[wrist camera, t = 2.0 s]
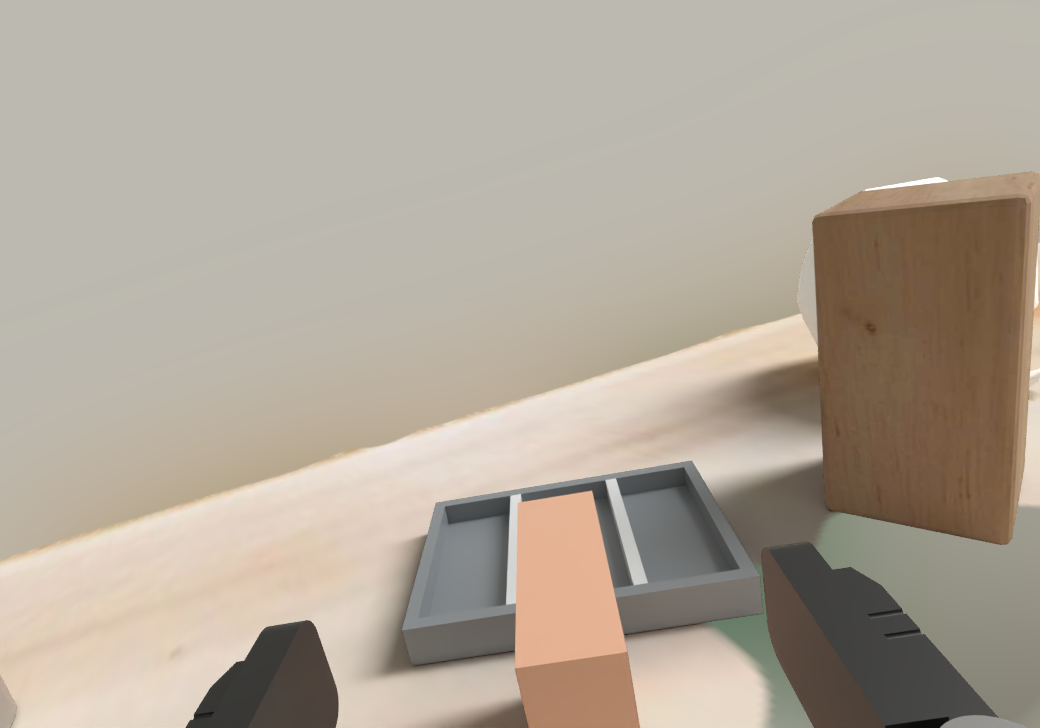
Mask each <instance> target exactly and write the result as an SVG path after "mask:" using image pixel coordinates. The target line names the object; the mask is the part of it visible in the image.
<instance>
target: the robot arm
mask: <svg viewBox="0 0 1040 728" xmlns="http://www.w3.org/2000/svg"><path fill="white" fill-rule="evenodd" d="M761 558H762V570H763V581H764V592H765V602H766V613H767V623H768V629H769V633H770V637H771V641H772V644H773V647H774V650H775V653H776V656H777V658H778V660H779V662H780V664H781V666H782V668H783V670H784V672H785V674H786V676H787V678H788V680H789V681H790V683H791V685H792V687H793V689H794V691H795V693H796V695H797V697H798V698H799V700H800V702H801V704H802V706H803V707H804V710H805V711H806V713H807V715H808V717H809V719H810V721H811V723H812V725H813V727H814V728H1027V727H1025V726H1023V725H1020V724H1017V723H1014V722H1012V721H1009V720H1005V719H1001V718H999V717H998V716H997V715H995V713H994V712H993V711H992V710H991V709H990V708H989V706H988V705H987V704H986V703H985V702H984V701H983V700H982V699H981V698H980V696H979V695H978V694H977V693H976V692H975V691H974V690H973V688H972V687H971V686H970V685H969V684H968V683H967V682H966V681H965V679H964V678H963V677H962V676H961V675H960V674H959V673H958V672H957V670H956V669H955V668H954V667H953V666H952V665H951V664H950V662H949V661H948V660H947V659H946V658H945V657H944V656H943V655H942V653H941V652H940V651H939V650H938V649H937V648H936V647H935V646H934V645H933V643H932V642H931V641H930V640H929V639H928V638H927V637H926V635H924V634H923V635H922V634H921V632H920V629H919V627H918V626H917V625H916V624H915V623H914V622H913V621H912V620H911V619H910V617H909V616H908V615H907V614H904V613H903V611H902V608H901V607H900V606H899V605H898V604H897V603H896V602H895V600H894V599H893V598H892V597H891V596H890V595H889V594H888V593H887V591H886V590H885V589H884V588H883V587H882V586H881V585H880V584H878V583H876V582H875V581H873V580H871V579H870V578H868V577H866V576H865V575H863V574H861V573H859V572H858V571H856V570H854V569H853V568H851V567H849V568H842V569H835V570H832V569H831V568H830V566H829V565H828V564H827V563H826V561H825V560H824V559H823V557H822V556H821V555H820V554H819V552H818V551H817V550H816V549H815V547H814V546H813V545H812V544H811V543H809V542H801V543H795V544H789V545H783V546H776V547H770V548H764V549H763V550H762V557H761ZM16 708H17V707H16V704H15V702H14V699H13V698H12V696H11V694H10V692H9V690H8V688H7V686H6V685H5V683H4V681H3V679H2V677H1V675H0V728H10V727H11V724H12V722H13V720H14V718H15V715H16ZM337 718H338V693H337V688H336V684H335V682H334V679H333V676H332V673H331V670H330V667H329V664H328V661H327V658H326V656H325V653H324V650H323V647H322V644H321V641H320V638H319V635H318V632H317V630H316V627H315V626H314V624H313V623H312V622H311V621H308V620H306V621H300V622H294V623H288V624H281V625H275V626H269V627H266V628H265V629H264V630H263V631H262V632H261V633H260V635H259V637H258V638H257V640H256V642H255V644H254V645H253V647H252V649H251V650H250V652H249V654H248V655H247V657H246V659H245V661H240V662H236V663H235V664H234V665H233V666H232V667H231V668H230V669H229V670H228V671H227V672H226V673H225V674H224V675H223V676H222V677H221V678H220V679H219V680H218V681H217V682H216V683H215V684H214V685H213V686H212V687H211V688H210V689H209V691H208V693H207V694H206V696H205V697H204V699H203V701H202V702H201V704H200V705H199V707H198V709H197V710H196V712H195V713H194V719H193V720H190V721H189V723H188V725H187V726H186V728H335V727H336V724H337Z"/></svg>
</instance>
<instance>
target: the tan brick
mask: <svg viewBox="0 0 1040 728" xmlns="http://www.w3.org/2000/svg"><path fill="white" fill-rule="evenodd" d="M515 671H516V676H517V680H518V684H519V689H520V693H521V697H522V701H523V706H524V710H525V714H526V719H527V723H528V727H529V728H640V725H639V719H638V713H637V707H636V701H635V695H634V689H633V683H632V677H631V671H630V665H629V659H628V653H627V648H626V643H625V639H624V634H623V630H622V625H621V620H620V616H619V611H618V607H617V602H616V598H615V593H614V588H613V584H612V579H611V575H610V570H609V566H608V561H607V556H606V552H605V547H604V543H603V538H602V534H601V529H600V525H599V520H598V515H597V511H596V506H595V502H594V497H593V493H592V491H587V492H581V493H575V494H569V495H563V496H556V497H550V498H544V499H538V500H532V501H526V502H520V503H518V517H517V573H516V629H515Z"/></svg>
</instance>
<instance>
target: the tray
mask: <svg viewBox="0 0 1040 728" xmlns="http://www.w3.org/2000/svg"><path fill="white" fill-rule="evenodd" d="M587 491H592V493H593V497H594V502H595V506H596V511H597V515H598V520H599V525H600V529H601V534H602V538H603V543H604V547H605V552H606V556H607V561H608V566H609V570H610V575H611V579H612V584H613V588H614V593H615V598H616V602H617V607H618V611H619V616H620V620H621V625H622V630H623V634H630V633H637V632H643V631H650V630H657V629H664V628H670V627H677V626H684V625H690V624H697V623H704V622H711V621H717V620H724V619H731V618H738V617H744V616H751V615H758V614H763V604H762V592H761V580H760V575H759V573H758V571H757V570H756V568H755V566H754V565H753V563H752V561H751V559H750V558H749V556H748V554H747V553H746V551H745V549H744V548H743V546H742V544H741V543H740V541H739V539H738V538H737V536H736V534H735V533H734V531H733V529H732V528H731V526H730V524H729V522H728V521H727V519H726V517H725V516H724V514H723V512H722V511H721V509H720V507H719V506H718V504H717V502H716V501H715V499H714V497H713V496H712V494H711V492H710V491H709V489H708V487H707V485H706V484H705V482H704V480H703V479H702V477H701V475H700V474H699V472H698V470H697V469H696V467H695V465H694V464H693V462H692V461H687V462H681V463H675V464H669V465H663V466H657V467H651V468H645V469H638V470H632V471H626V472H620V473H614V474H608V475H602V476H596V477H590V478H584V479H578V480H572V481H566V482H559V483H553V484H547V485H541V486H535V487H529V488H523V489H517V490H511V491H505V492H499V493H493V494H487V495H480V496H474V497H468V498H462V499H456V500H450V501H444V502H438V503H436V505H435V508H434V512H433V516H432V520H431V523H430V527H429V531H428V534H427V538H426V542H425V545H424V549H423V553H422V557H421V560H420V564H419V568H418V571H417V575H416V579H415V583H414V586H413V590H412V594H411V597H410V601H409V605H408V609H407V612H406V616H405V620H404V623H403V627H402V633H403V637H404V640H405V644H406V647H407V650H408V654H409V657H410V661H411V664H412V666H415V665H421V664H428V663H435V662H442V661H448V660H455V659H462V658H469V657H475V656H482V655H489V654H495V653H502V652H509V651H515V629H516V573H517V517H518V503H520V502H526V501H532V500H538V499H544V498H550V497H556V496H563V495H569V494H575V493H581V492H587Z"/></svg>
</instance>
